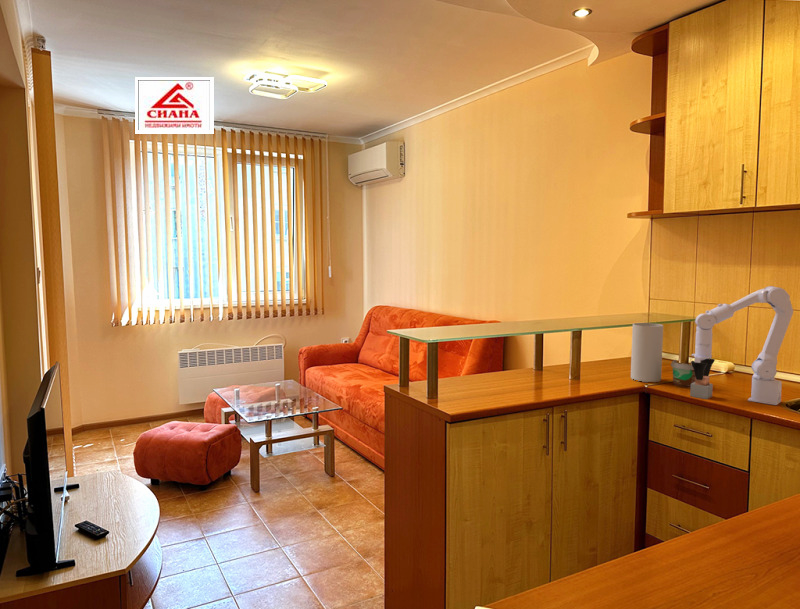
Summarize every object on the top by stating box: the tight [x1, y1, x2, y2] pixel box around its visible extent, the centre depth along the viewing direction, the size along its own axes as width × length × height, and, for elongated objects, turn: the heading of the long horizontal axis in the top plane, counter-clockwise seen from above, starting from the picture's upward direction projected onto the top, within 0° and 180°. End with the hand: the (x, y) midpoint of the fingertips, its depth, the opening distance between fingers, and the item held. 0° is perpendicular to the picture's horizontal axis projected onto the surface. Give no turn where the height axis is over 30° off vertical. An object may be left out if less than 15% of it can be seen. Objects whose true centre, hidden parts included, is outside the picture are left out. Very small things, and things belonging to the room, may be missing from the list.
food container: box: [670, 359, 695, 389], centre depth 238 cm, size 12×6×10 cm, turn 21°
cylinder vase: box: [630, 322, 664, 383], centre depth 248 cm, size 12×12×25 cm
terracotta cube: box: [695, 375, 710, 386], centre depth 220 cm, size 4×4×4 cm
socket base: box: [689, 382, 713, 400], centre depth 220 cm, size 6×6×5 cm
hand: (702, 378), depth 220 cm, fingers open, 7 cm apart
